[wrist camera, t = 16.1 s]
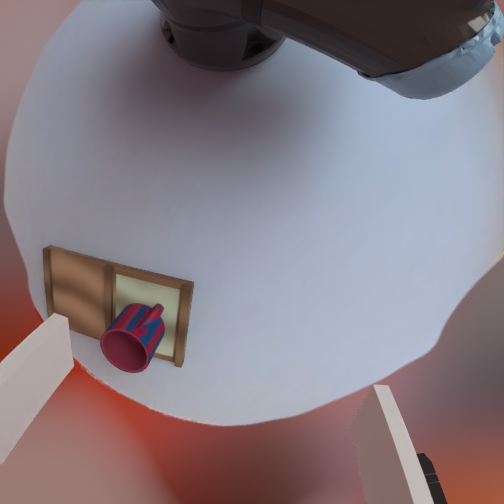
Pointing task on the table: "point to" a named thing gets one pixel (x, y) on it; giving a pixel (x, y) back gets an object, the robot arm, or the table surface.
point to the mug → (133, 337)
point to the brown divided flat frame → (114, 297)
